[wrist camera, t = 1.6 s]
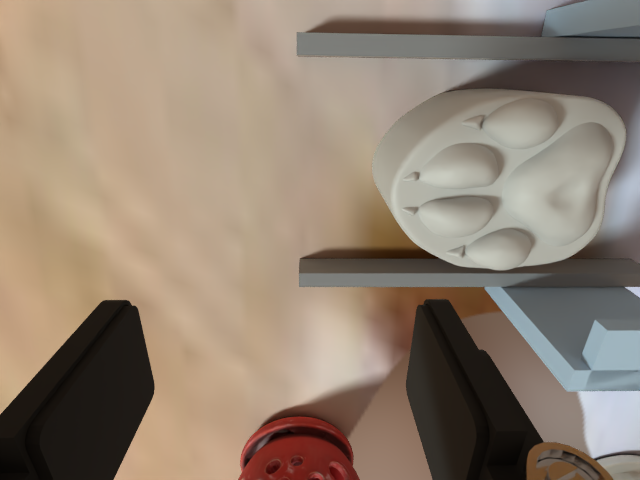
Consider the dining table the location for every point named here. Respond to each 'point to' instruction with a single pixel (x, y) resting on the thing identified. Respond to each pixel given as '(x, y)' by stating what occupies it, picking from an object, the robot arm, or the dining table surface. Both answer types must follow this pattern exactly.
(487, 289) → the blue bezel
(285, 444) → the plant pot
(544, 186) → the lumpy-topped squat cylinder
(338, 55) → the grey long bars
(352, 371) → the dining table surface
